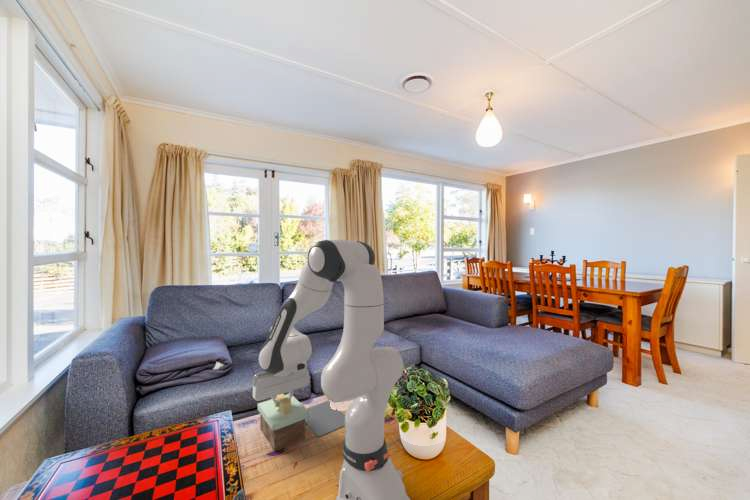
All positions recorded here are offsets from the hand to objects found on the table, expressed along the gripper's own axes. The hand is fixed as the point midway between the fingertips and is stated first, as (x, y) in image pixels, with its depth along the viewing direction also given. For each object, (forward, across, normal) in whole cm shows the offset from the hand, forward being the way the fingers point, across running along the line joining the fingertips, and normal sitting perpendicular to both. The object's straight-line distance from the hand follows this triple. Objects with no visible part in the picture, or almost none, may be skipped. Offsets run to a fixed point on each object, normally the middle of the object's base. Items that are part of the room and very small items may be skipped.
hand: (282, 404), depth 109 cm
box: (+11, 0, 0) cm, 11 cm away
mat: (+11, +17, 0) cm, 20 cm away
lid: (+3, 0, 0) cm, 3 cm away
